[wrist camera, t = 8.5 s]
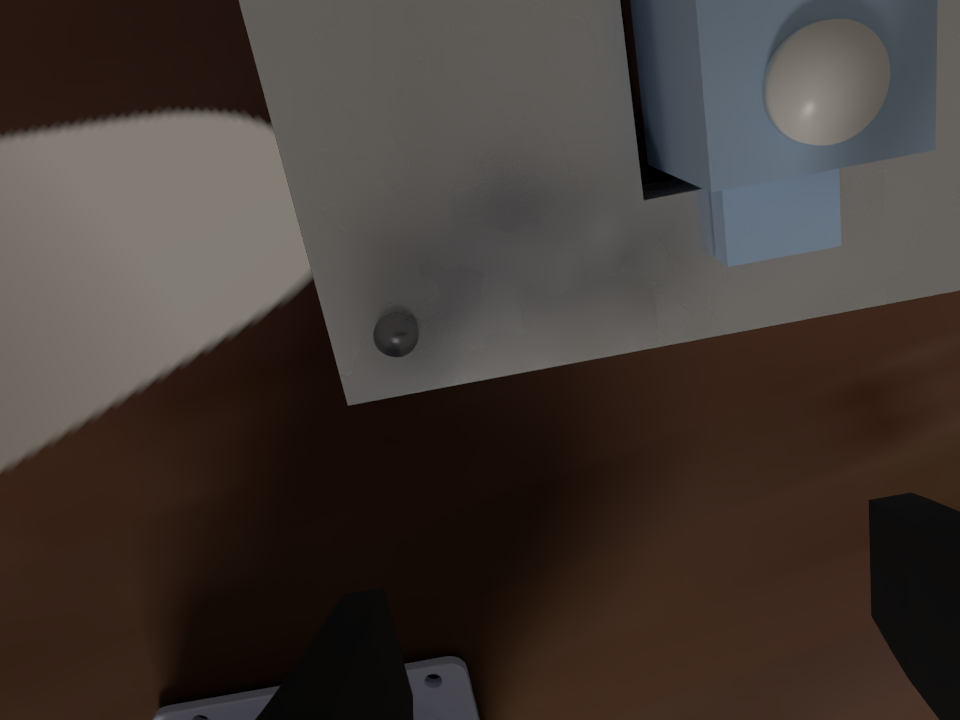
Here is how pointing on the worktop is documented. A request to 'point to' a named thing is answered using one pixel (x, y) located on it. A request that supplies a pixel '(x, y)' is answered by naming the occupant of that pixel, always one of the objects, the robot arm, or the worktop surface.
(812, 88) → the servo
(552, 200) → the plate
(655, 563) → the worktop surface
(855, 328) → the worktop surface
